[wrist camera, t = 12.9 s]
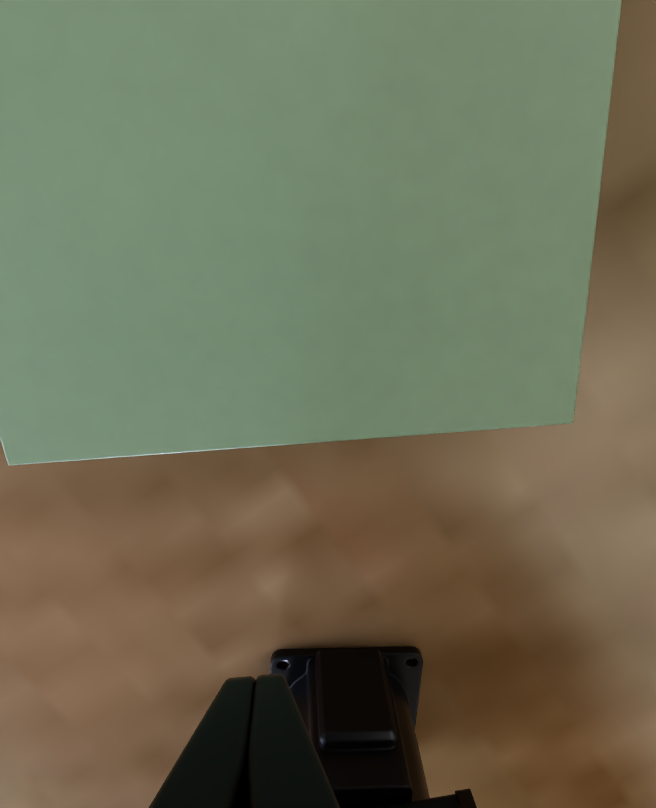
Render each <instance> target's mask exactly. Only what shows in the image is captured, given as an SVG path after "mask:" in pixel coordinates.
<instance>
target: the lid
mask: <svg viewBox="0 0 656 808" xmlns="http://www.w3.org/2000/svg"><path fill="white" fill-rule="evenodd" d="M621 3H622V0H0V439H1V443H2V446H3V449H4V453H5V456H6V459H7V463H8V465H20V464H34V463H47V462H61V461H74V460H87V459H101V458H114V457H128V456H141V455H154V454H168V453H181V452H195V451H208V450H221V449H235V448H248V447H262V446H275V445H288V444H302V443H315V442H329V441H342V440H355V439H369V438H382V437H396V436H409V435H422V434H436V433H449V432H463V431H476V430H489V429H503V428H516V427H530V426H543V425H557V424H570V423H573V421H574V412H575V403H576V395H577V386H578V377H579V368H580V360H581V351H582V342H583V334H584V325H585V316H586V308H587V299H588V290H589V281H590V273H591V264H592V255H593V247H594V238H595V229H596V221H597V212H598V203H599V194H600V186H601V177H602V168H603V160H604V151H605V142H606V133H607V125H608V116H609V107H610V99H611V90H612V81H613V73H614V64H615V55H616V46H617V38H618V29H619V20H620V12H621Z"/></svg>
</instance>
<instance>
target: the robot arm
mask: <svg viewBox="0 0 656 808" xmlns="http://www.w3.org/2000/svg"><path fill="white" fill-rule="evenodd" d="M410 658H413V659H411V660H408V659H410ZM279 661H286V662H283V663H282V662H279ZM422 667H423V659H422V655H421V652H420V650H419V649H418V648H416V647H362V648H310V649H280V650H277V651H275V652H274V653H273V654H272V656H271V675H261V676H258V677H257V678H256V680H255V679H254V678H253V677H251V676H249V677H237V678H229V679H228V680H226V681H225V683H224V684H223V686H222V687H221V689H220V691H219V692H218V694H217V695H216V697H215V699H214V700H213V702H212V704H211V705H210V707H209V709H208V710H207V712H206V714H205V715H204V717H203V719H202V720H201V722H200V724H199V725H198V727H197V729H196V730H195V732H194V734H193V735H192V737H191V739H190V740H189V742H188V744H187V745H186V747H185V748H184V750H183V752H182V753H181V755H180V757H179V758H178V760H177V762H176V763H175V765H174V767H173V768H172V770H171V772H170V773H169V775H168V777H167V778H166V780H165V782H164V783H163V785H162V787H161V788H160V790H159V792H158V793H157V795H156V797H155V798H154V800H153V802H152V803H151V805H150V806H149V808H477V807H476V804H475V802H474V799H473V796H472V793H471V790H470V789H464V790H458V791H455V794H453V795H447V796H441V797H435V798H430V797H429V793H428V788H427V784H426V779H425V775H424V770H423V766H422V761H421V756H420V752H419V747H418V743H417V738H416V734H415V724H416V715H417V707H418V699H419V691H420V683H421V675H422Z"/></svg>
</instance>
